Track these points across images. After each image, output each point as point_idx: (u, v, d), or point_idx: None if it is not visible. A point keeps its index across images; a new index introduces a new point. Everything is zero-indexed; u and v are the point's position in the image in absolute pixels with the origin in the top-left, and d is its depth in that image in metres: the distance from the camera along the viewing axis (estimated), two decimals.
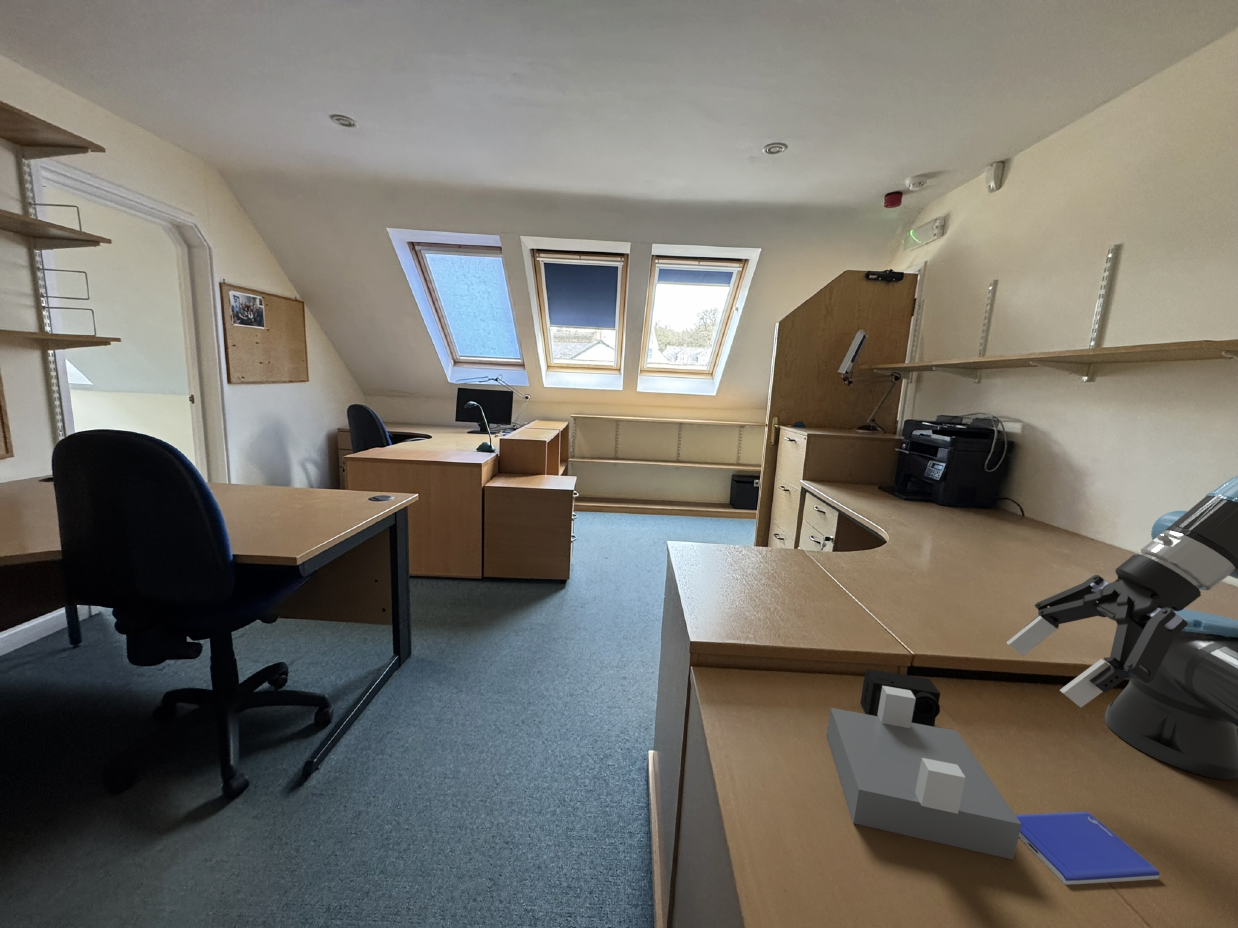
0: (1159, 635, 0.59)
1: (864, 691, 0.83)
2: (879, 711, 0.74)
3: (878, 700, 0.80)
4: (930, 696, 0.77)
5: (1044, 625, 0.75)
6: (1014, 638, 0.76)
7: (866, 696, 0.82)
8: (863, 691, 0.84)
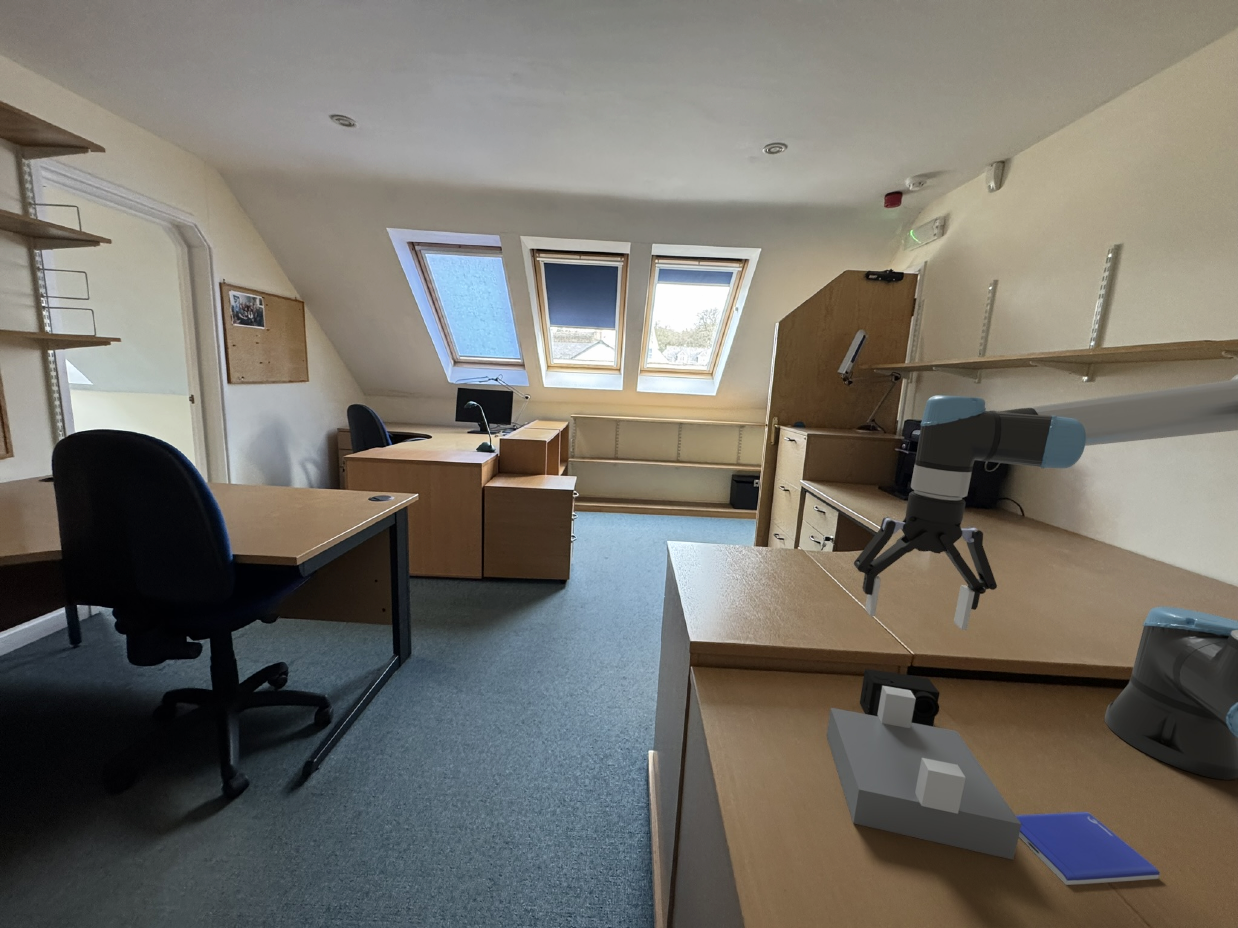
0: (875, 537, 0.78)
1: (863, 691, 0.83)
2: (879, 711, 0.74)
3: (878, 700, 0.80)
4: (929, 695, 0.78)
5: (963, 591, 0.76)
6: None
7: (865, 696, 0.82)
8: (862, 691, 0.84)
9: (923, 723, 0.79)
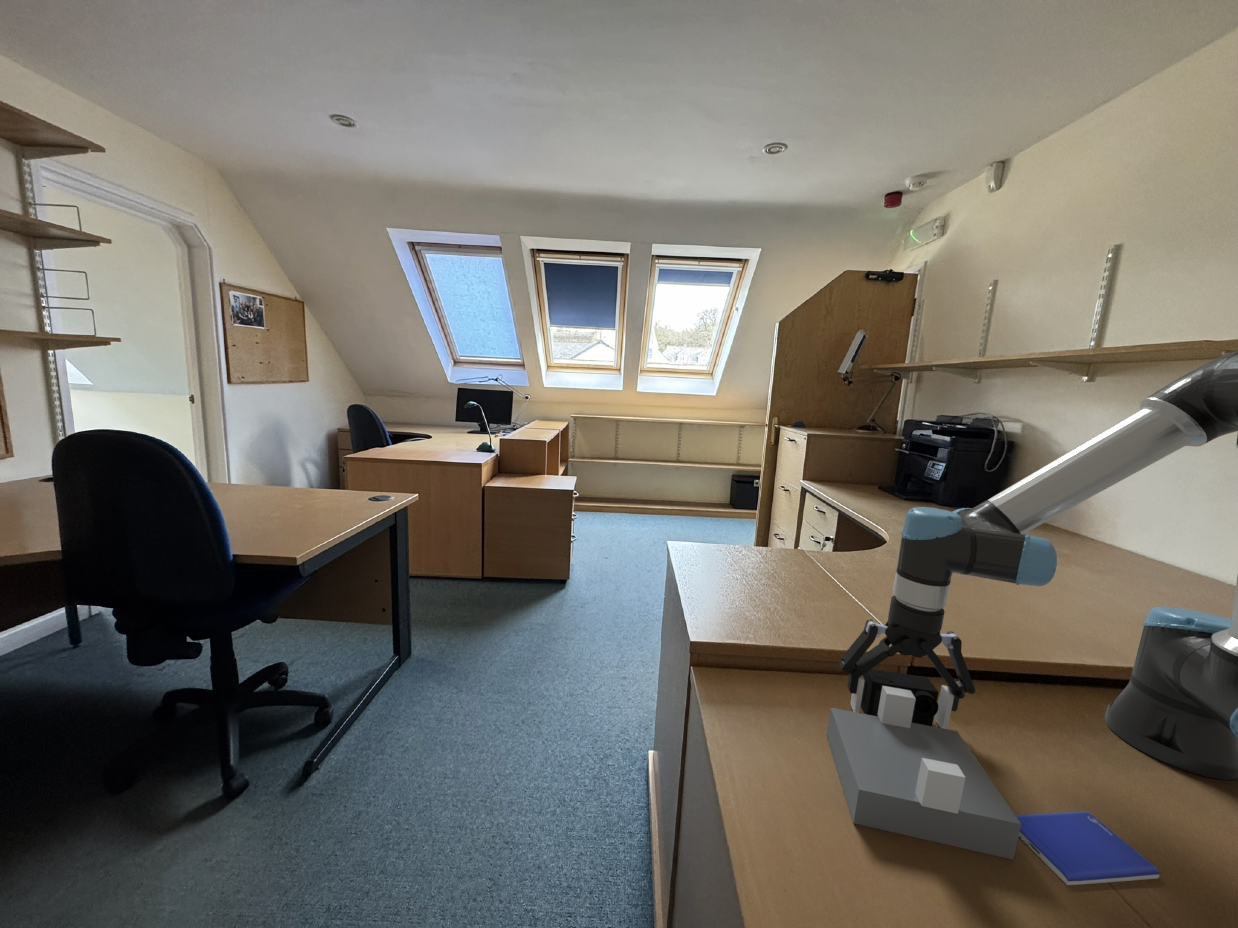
0: (859, 638, 0.81)
1: (863, 690, 0.84)
2: (879, 711, 0.74)
3: (877, 699, 0.80)
4: (929, 695, 0.78)
5: (943, 692, 0.79)
6: None
7: (865, 695, 0.82)
8: None
9: (922, 722, 0.80)
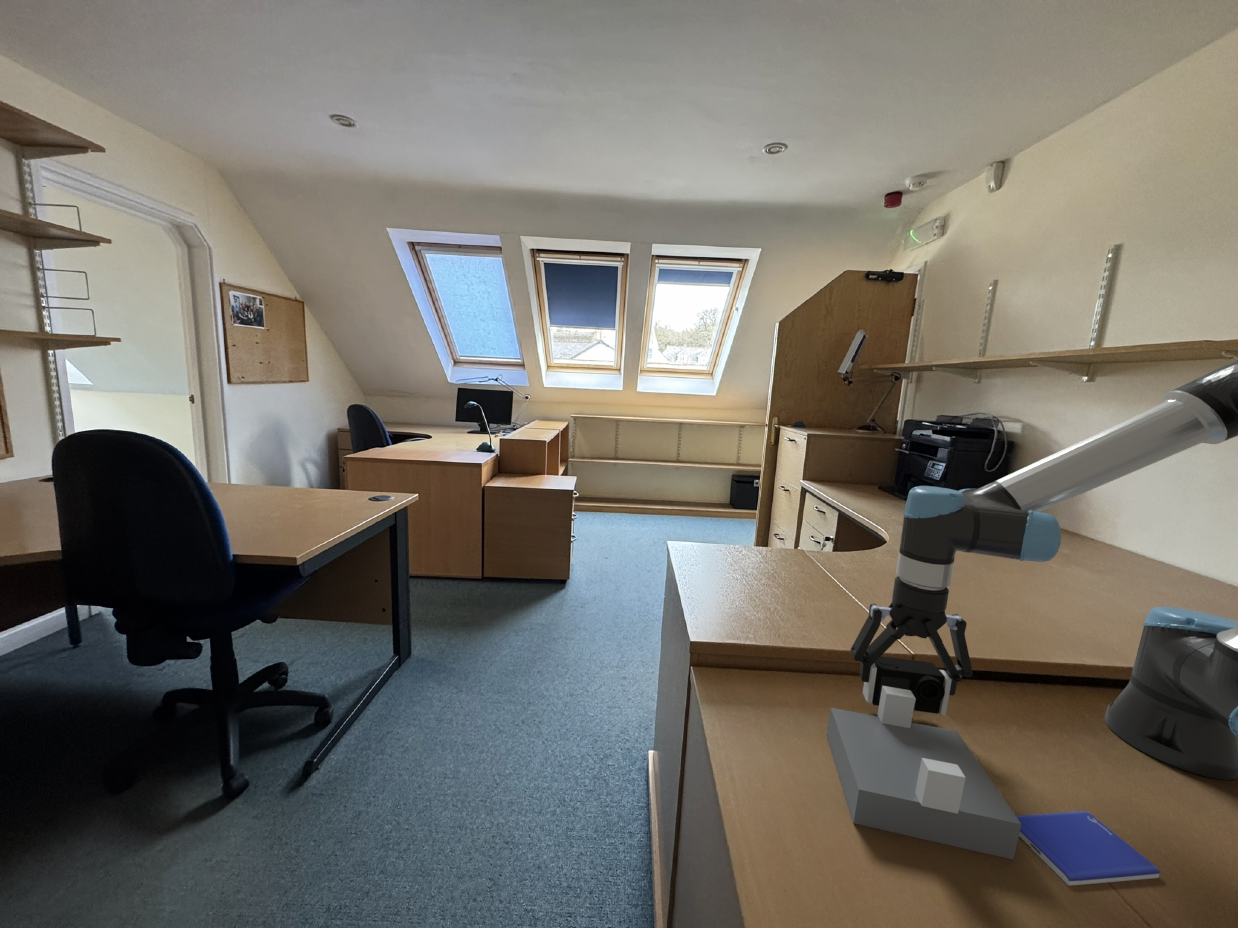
0: (866, 624, 0.81)
1: None
2: (879, 711, 0.74)
3: (883, 685, 0.80)
4: (935, 679, 0.77)
5: None
6: None
7: None
8: None
9: (929, 708, 0.79)
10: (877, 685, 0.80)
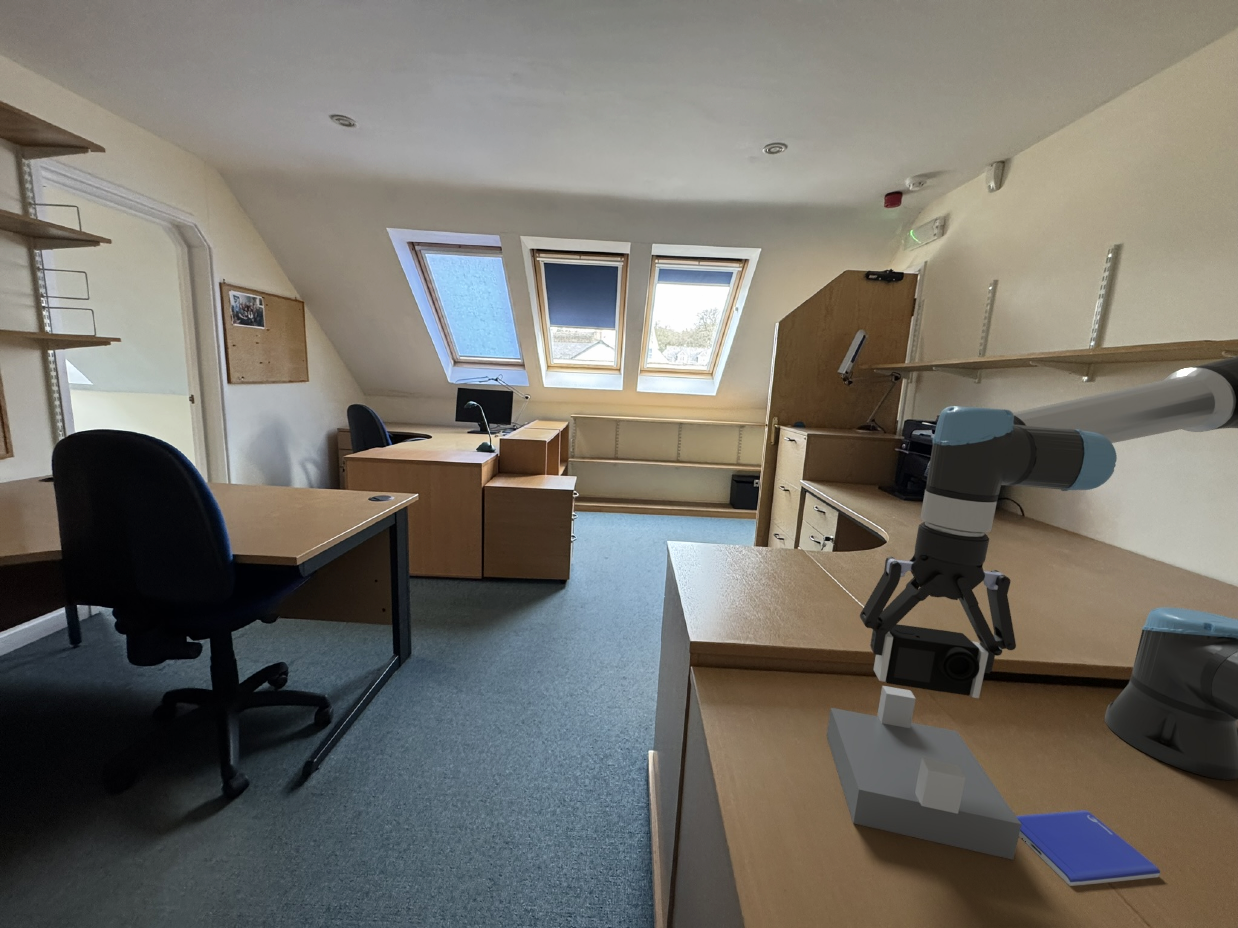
0: (880, 583, 0.64)
1: None
2: (879, 711, 0.74)
3: (900, 659, 0.63)
4: (967, 652, 0.61)
5: None
6: None
7: None
8: None
9: (958, 688, 0.63)
10: (893, 658, 0.64)
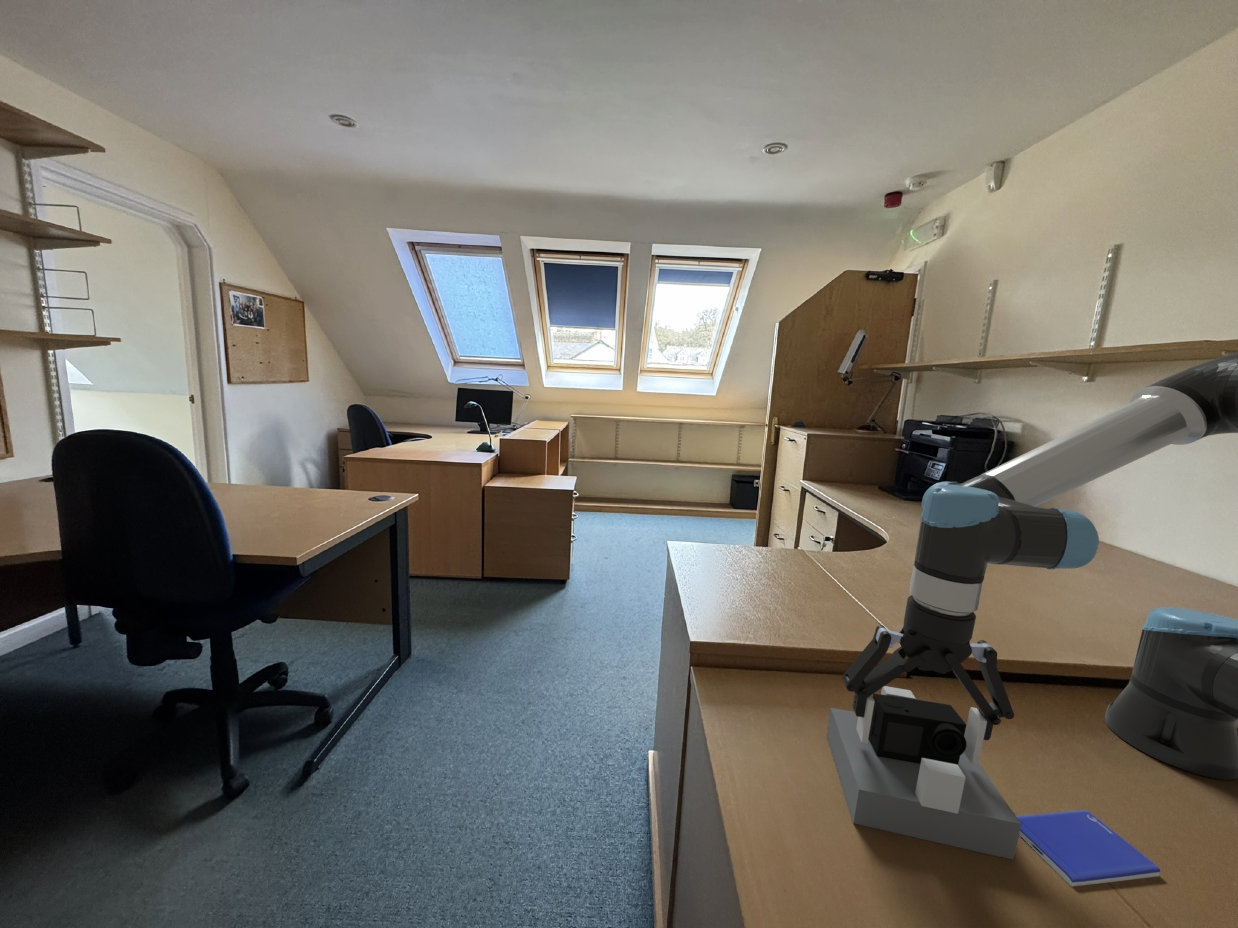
0: (867, 649, 0.65)
1: (871, 721, 0.68)
2: None
3: (890, 733, 0.65)
4: (954, 729, 0.62)
5: (973, 717, 0.64)
6: None
7: (874, 727, 0.67)
8: None
9: (946, 762, 0.64)
10: (882, 732, 0.65)
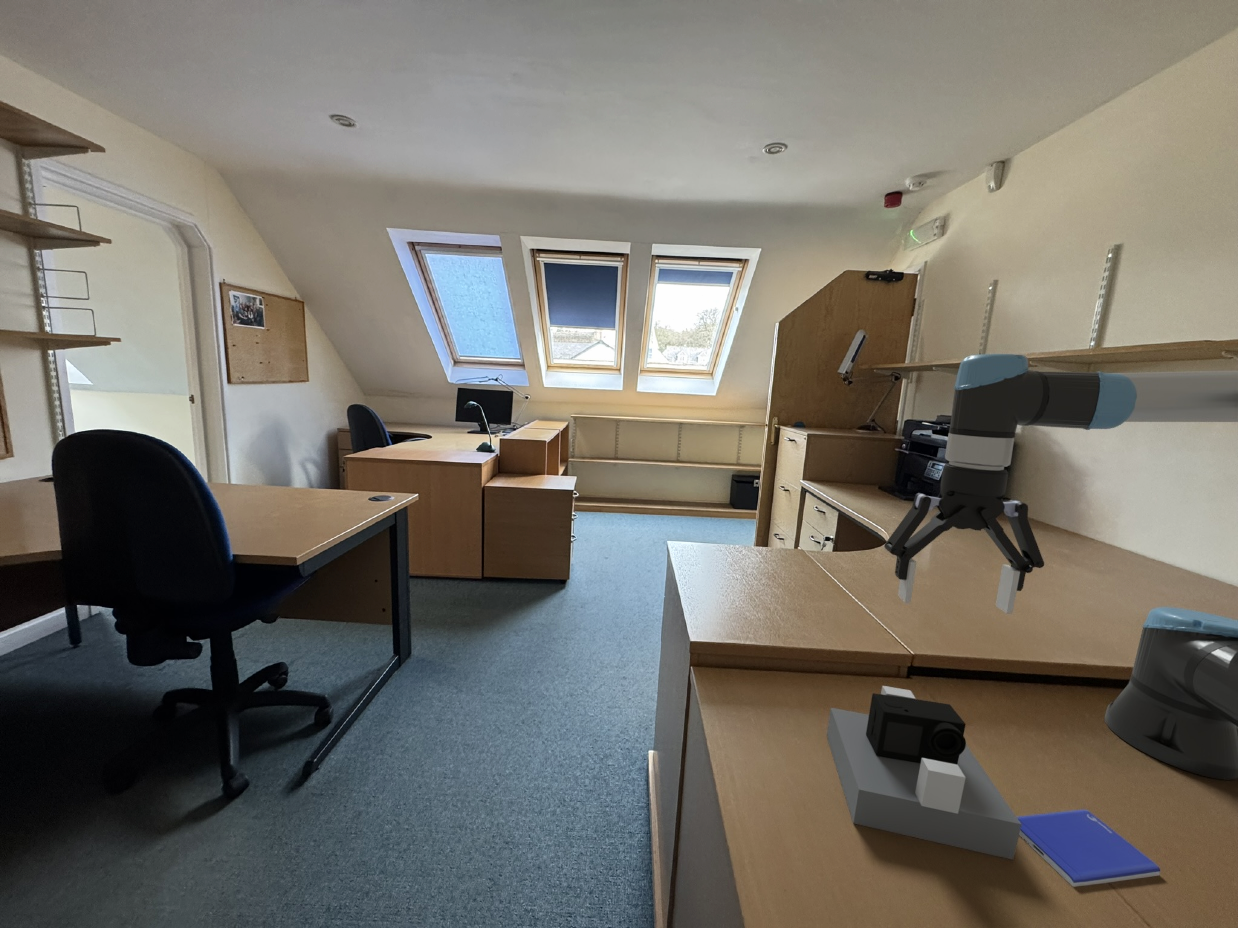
0: (908, 516, 0.71)
1: (871, 720, 0.68)
2: None
3: (889, 733, 0.65)
4: (954, 728, 0.62)
5: (1006, 571, 0.69)
6: None
7: (874, 727, 0.67)
8: (870, 720, 0.69)
9: (945, 761, 0.64)
10: (882, 732, 0.65)
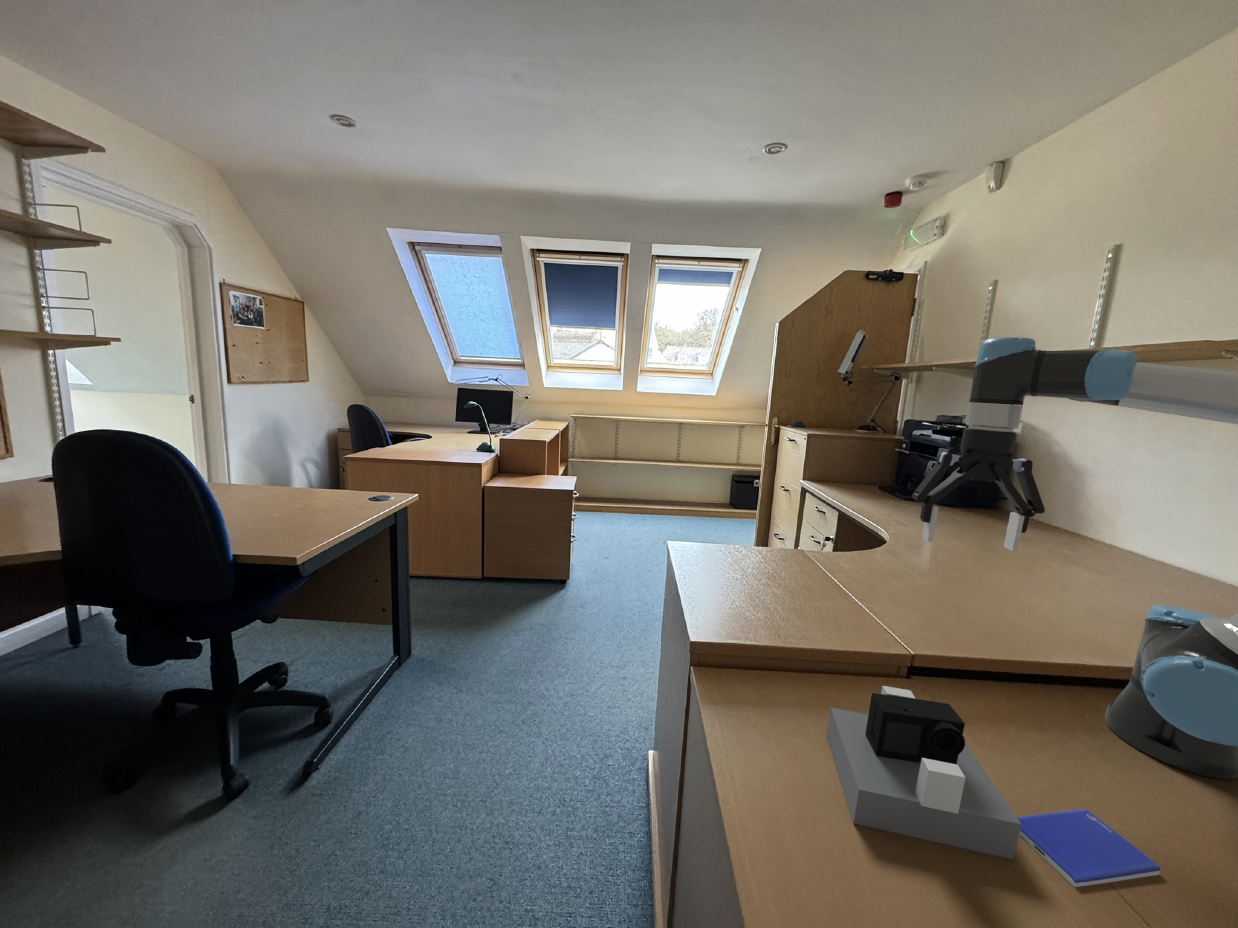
0: (932, 470, 0.87)
1: (870, 720, 0.68)
2: None
3: (889, 733, 0.65)
4: (953, 728, 0.63)
5: (1013, 517, 0.85)
6: None
7: (873, 727, 0.67)
8: (869, 720, 0.69)
9: (944, 761, 0.64)
10: (881, 732, 0.65)
